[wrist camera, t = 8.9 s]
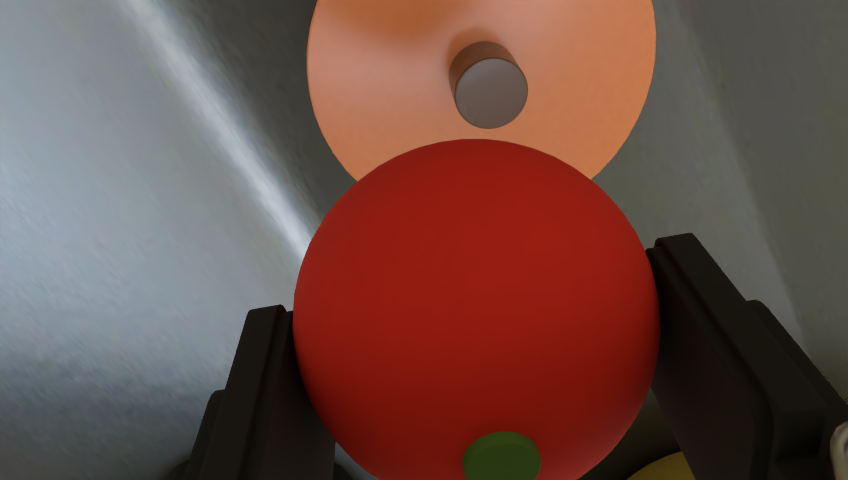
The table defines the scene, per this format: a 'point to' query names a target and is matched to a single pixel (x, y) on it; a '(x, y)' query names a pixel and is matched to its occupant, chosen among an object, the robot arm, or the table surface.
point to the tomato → (476, 317)
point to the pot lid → (479, 75)
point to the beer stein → (339, 473)
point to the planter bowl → (666, 469)
